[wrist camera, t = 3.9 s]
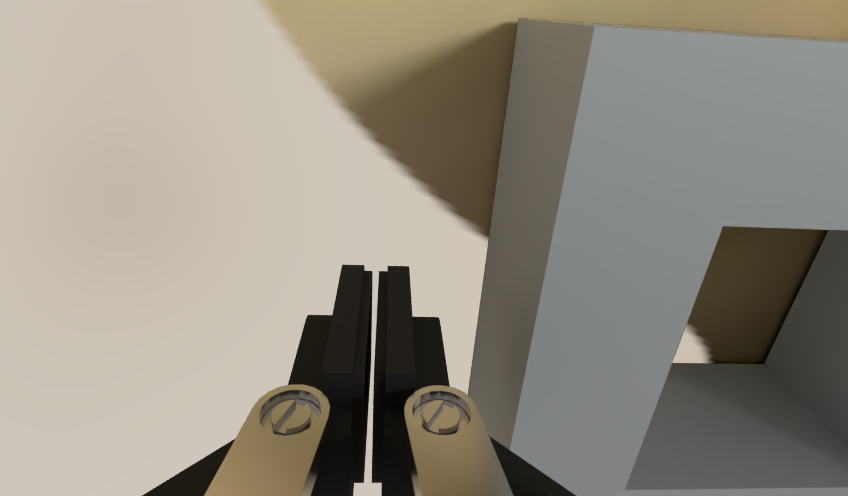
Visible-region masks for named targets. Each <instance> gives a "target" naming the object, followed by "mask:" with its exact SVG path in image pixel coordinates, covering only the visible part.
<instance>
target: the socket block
mask: <svg viewBox="0 0 848 496" xmlns="http://www.w3.org/2000/svg"><path fill="white" fill-rule="evenodd" d="M723 226H732V227H761V228H791V229H821V230H828V233H827V235H826V237H825V239H824V241H823V243H822V245H821V247H820V249H819V251H818V253H817V255H816V257H815V259H814V261H813V264H812V266H811V268H810V270H809V272H808V274H807V276H806V278H805V280H804V282H803V284H802V286H801V288H800V290H799V293H798V295H797V297H796V299H795V301H794V303H793V305H792V307H791V309H790V311H789V313H788V315H787V317H786V319H785V322H784V324H783V326H782V328H781V330H780V332H779V334H778V336H777V338H776V340H775V342H774V344H773V346H772V348H771V350H770V353H769V355H768V357H767V359H766V361H765V363H764V364H706V363H699V364H697V363H672V362H673V359H674V357H675V354H676V351H677V349H678V346H679V343H680V340H681V338H682V335H683V332H684V330H685V327H686V324H687V322H688V319H689V316H690V314H691V311H692V308H693V306H694V303H695V300H696V298H697V295H698V292H699V290H700V287H701V284H702V282H703V279H704V276H705V273H706V271H707V268H708V265H709V263H710V260H711V257H712V255H713V252H714V249H715V247H716V244H717V241H718V239H719V236H720V233H721V231H722V228H723ZM468 396H469V397H470V398H471V399H472V400H473V401H474V403H475V405H476V406H477V408H478V410H479V413H480V415H481V418H482V420H483V423H484V425H485V427H486V430H487V432H488V435H489V436H490V437H491V438H493V439H494V440H496V441H497V442H499V443H500V444H502V445H503V446H505V447H506V448H508V449H509V450H510V451H512V452H513V453H515V454H516V455H518V456H519V457H521V458H522V459H524V460H525V461H526V462H528V463H529V464H531V465H532V466H534V467H535V468H537V469H538V470H540V471H541V472H543V473H544V474H545V475H547V476H548V477H550V478H551V479H553V480H554V481H556V482H557V483H559V484H560V485H561V486H563V487H564V488H566V489H567V490H569V491H570V492H572V493H573V494H575V495H576V496H848V40H836V39H821V38H806V37H792V36H777V35H762V34H747V33H732V32H717V31H703V30H688V29H673V28H658V27H643V26H628V25H614V24H599V23H584V22H569V21H554V20H540V19H525V18H519V19H518V26H517V34H516V41H515V49H514V56H513V63H512V71H511V78H510V86H509V93H508V100H507V108H506V115H505V123H504V130H503V138H502V145H501V152H500V160H499V167H498V175H497V182H496V189H495V197H494V204H493V212H492V219H491V226H490V234H489V241H488V249H487V257H486V264H485V271H484V278H483V286H482V293H481V301H480V308H479V315H478V323H477V330H476V338H475V345H474V353H473V360H472V367H471V375H470V383H469V390H468Z"/></svg>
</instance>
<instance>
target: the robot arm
mask: <svg viewBox="0 0 848 496" xmlns="http://www.w3.org/2000/svg"><path fill="white" fill-rule="evenodd" d="M371 323H372V271H364V265H342V269H341V274H340V279H339V285H338V289H337V295H336V300H335V305H334V310H333V315H308V316H307V318H306V321H305V325H304V329H303V333H302V336H301V340H300V343H299V347H298V350H297V354H296V358H295V361H294V365H293V369H292V372H291V376H290V380H289V383H288V385H287V386H283V387H279V388H276V389H274V390H272V391H269V392H268V393H267V394H266V395H264V396H263V397H261V398H260V399H259V400H258V402H257V403H256V404H255V405H254V407H253V408H252V410H251V412H250V414H249V415H248V417H247V419H246V421H245V423H244V425H243V426H242V428H241V430H240V432H239V433H238V435H237V437H236V439H234V440H232V441H231V442H229V443H228V444H226V445H225V446H223V447H221V448H219V449H218V450H216V451H215V452H213V453H211V454H210V455H208V456H206V457H205V458H203V459H202V460H200V461H198V462H197V463H195V464H193V465H192V466H190V467H188V468H187V469H185V470H184V471H182V472H180V473H179V474H177V475H175V476H174V477H172V478H170V479H169V480H167V481H165V482H164V483H162V484H161V485H159V486H157V487H156V488H154V489H153V490H151V491H149V492H147V493H146V494H144V495H143V496H353V488H354V483H363V482H364V469H365V453H366V437H367V420H368V403H369V387H370V386H369V385H370V370H371V330H372V329H371V327H372V324H371ZM374 366H375V367H374V400H373V406H374V407H373V450H372V483H382V496H576V495H575V494H573V493H572V492H570V491H569V490H567V489H566V488H564V487H563V486H561V485H560V484H559V483H557V482H556V481H554V480H553V479H551V478H550V477H548V476H547V475H545V474H544V473H543V472H541V471H540V470H538V469H537V468H535V467H534V466H532V465H531V464H529V463H528V462H526V461H525V460H524V459H522V458H521V457H519V456H518V455H516V454H515V453H513V452H512V451H510V450H509V449H508V448H506V447H505V446H503V445H502V444H500V443H499V442H497V441H496V440H494V439H493V438H491V437H490V436H489V435H488V432H487V430H486V427H485V425H484V423H483V420H482V418H481V415H480V413H479V410H478V408H477V406H476V405H475V403H474V401H473V400H472V399H471V398H470V397H469V396H468V395H466V394H465V393H464V392H462V391H460V390H458V389H456V388H452V387H450V386H449V380H448V373H447V366H446V359H445V353H444V346H443V339H442V332H441V326H440V320H439V318H438V317H412V305H411V289H410V273H409V267H406V266H388V272H385V271H379V285H378V307H377V326H376V347H375V365H374Z"/></svg>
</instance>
